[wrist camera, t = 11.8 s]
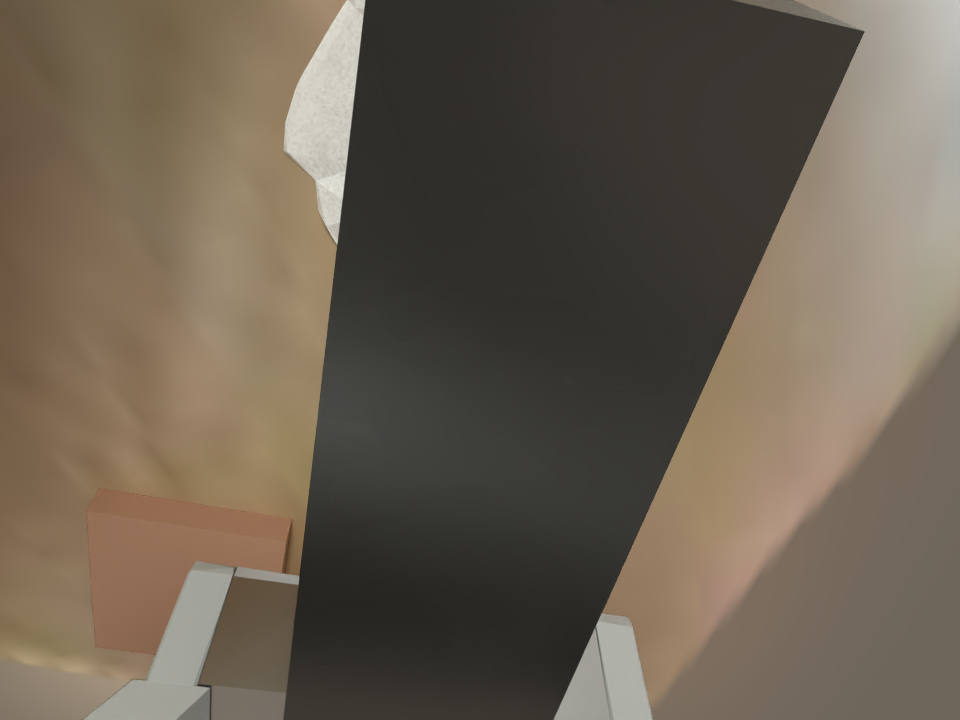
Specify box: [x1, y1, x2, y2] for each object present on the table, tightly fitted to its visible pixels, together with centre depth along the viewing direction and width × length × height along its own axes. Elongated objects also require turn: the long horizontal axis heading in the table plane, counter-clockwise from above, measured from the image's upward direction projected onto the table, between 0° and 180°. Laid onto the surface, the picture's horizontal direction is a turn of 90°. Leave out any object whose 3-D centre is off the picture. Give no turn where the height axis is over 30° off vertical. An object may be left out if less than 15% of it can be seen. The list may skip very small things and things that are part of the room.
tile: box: [87, 488, 292, 655], centre depth 30 cm, size 2×7×8 cm
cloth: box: [284, 0, 365, 244], centre depth 21 cm, size 26×14×2 cm, turn 167°
